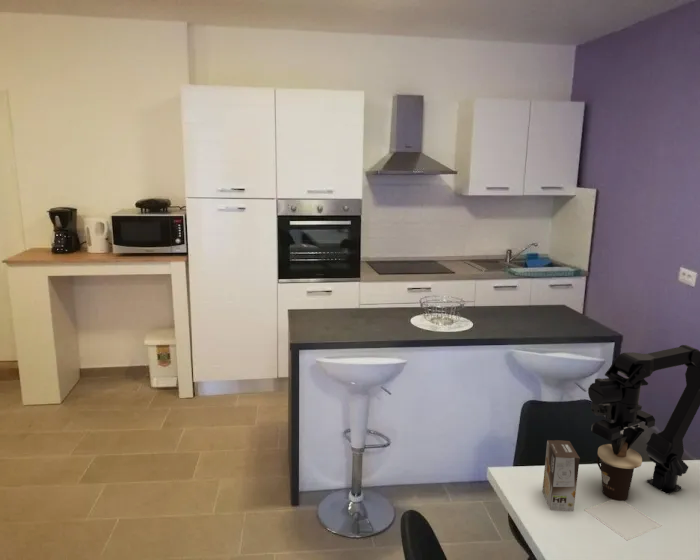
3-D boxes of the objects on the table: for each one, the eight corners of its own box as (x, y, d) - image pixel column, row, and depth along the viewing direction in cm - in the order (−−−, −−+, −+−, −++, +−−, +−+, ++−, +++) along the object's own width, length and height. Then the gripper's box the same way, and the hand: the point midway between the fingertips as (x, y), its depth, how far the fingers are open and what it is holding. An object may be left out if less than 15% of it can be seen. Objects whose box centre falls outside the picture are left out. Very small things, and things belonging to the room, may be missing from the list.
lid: (615, 443, 156) (616, 429, 155) (650, 462, 147) (652, 447, 146) (588, 452, 152) (590, 438, 151) (623, 472, 142) (626, 457, 141)
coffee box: (574, 512, 143) (581, 458, 140) (549, 511, 144) (555, 457, 140) (564, 492, 152) (570, 440, 149) (540, 490, 153) (546, 439, 149)
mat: (617, 498, 150) (617, 497, 149) (661, 527, 138) (661, 525, 138) (583, 511, 144) (584, 509, 144) (626, 541, 133) (627, 540, 132)
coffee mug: (636, 504, 146) (639, 469, 144) (602, 501, 148) (604, 466, 146) (624, 483, 157) (626, 450, 156) (592, 480, 159) (594, 447, 157)
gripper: (623, 382, 157) (617, 431, 160) (577, 395, 148) (572, 446, 152) (659, 397, 147) (652, 449, 150) (613, 412, 139) (606, 466, 142)
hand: (620, 452), depth 149 cm, fingers closed on lid, 3 cm apart
